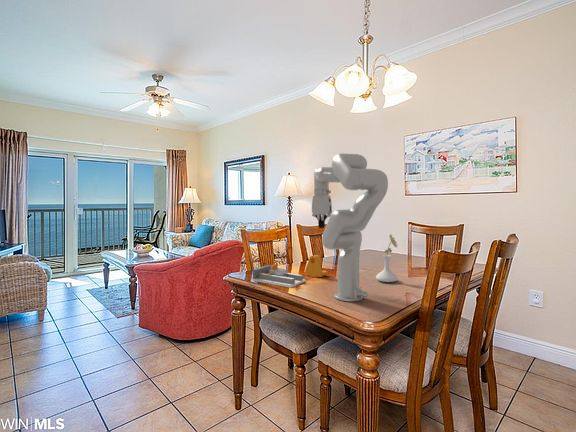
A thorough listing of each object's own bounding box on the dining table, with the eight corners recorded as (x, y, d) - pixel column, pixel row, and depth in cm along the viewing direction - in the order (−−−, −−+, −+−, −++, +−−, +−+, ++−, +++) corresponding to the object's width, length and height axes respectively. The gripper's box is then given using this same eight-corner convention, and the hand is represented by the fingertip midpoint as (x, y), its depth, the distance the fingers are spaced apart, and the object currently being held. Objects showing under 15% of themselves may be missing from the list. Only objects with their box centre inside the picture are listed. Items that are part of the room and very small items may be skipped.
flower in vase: (390, 285, 159) (390, 236, 158) (371, 280, 168) (371, 234, 167) (403, 280, 167) (404, 234, 166) (385, 276, 176) (385, 232, 175)
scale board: (305, 281, 168) (305, 270, 167) (290, 287, 156) (290, 275, 156) (268, 275, 182) (268, 265, 182) (252, 280, 170) (252, 269, 170)
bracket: (327, 275, 180) (327, 255, 180) (320, 278, 175) (320, 257, 174) (312, 273, 187) (312, 253, 187) (305, 275, 182) (305, 255, 181)
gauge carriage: (291, 277, 171) (290, 264, 171) (279, 281, 162) (279, 267, 162) (279, 275, 176) (279, 262, 175) (267, 279, 167) (266, 266, 166)
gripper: (337, 192, 162) (337, 228, 163) (312, 193, 170) (312, 226, 171) (331, 192, 156) (331, 229, 157) (305, 193, 164) (305, 227, 165)
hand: (321, 227), depth 164 cm, fingers closed
